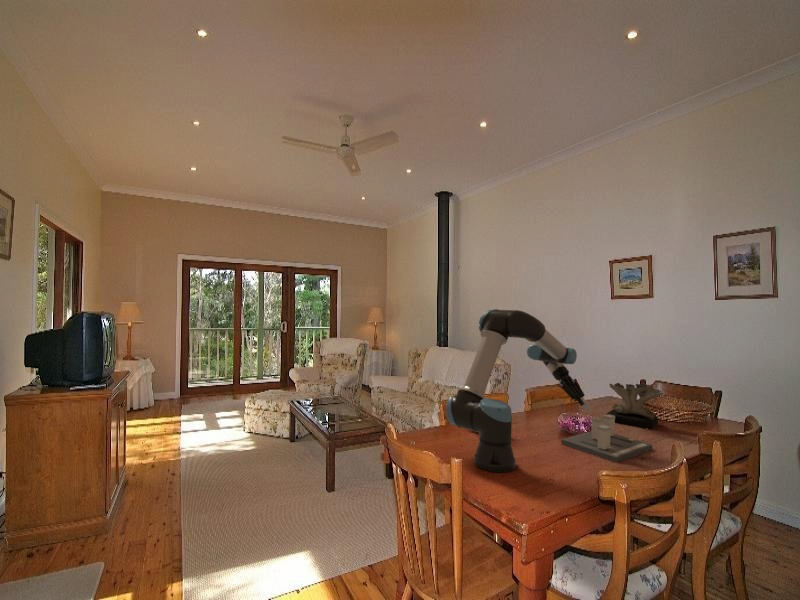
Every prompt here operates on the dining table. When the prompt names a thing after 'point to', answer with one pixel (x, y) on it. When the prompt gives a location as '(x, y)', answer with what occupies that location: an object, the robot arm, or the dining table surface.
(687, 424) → the dining table surface
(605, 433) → the near lever
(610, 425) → the far lever
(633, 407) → the coral
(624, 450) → the switch panel
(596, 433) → the middle lever
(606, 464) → the dining table surface
